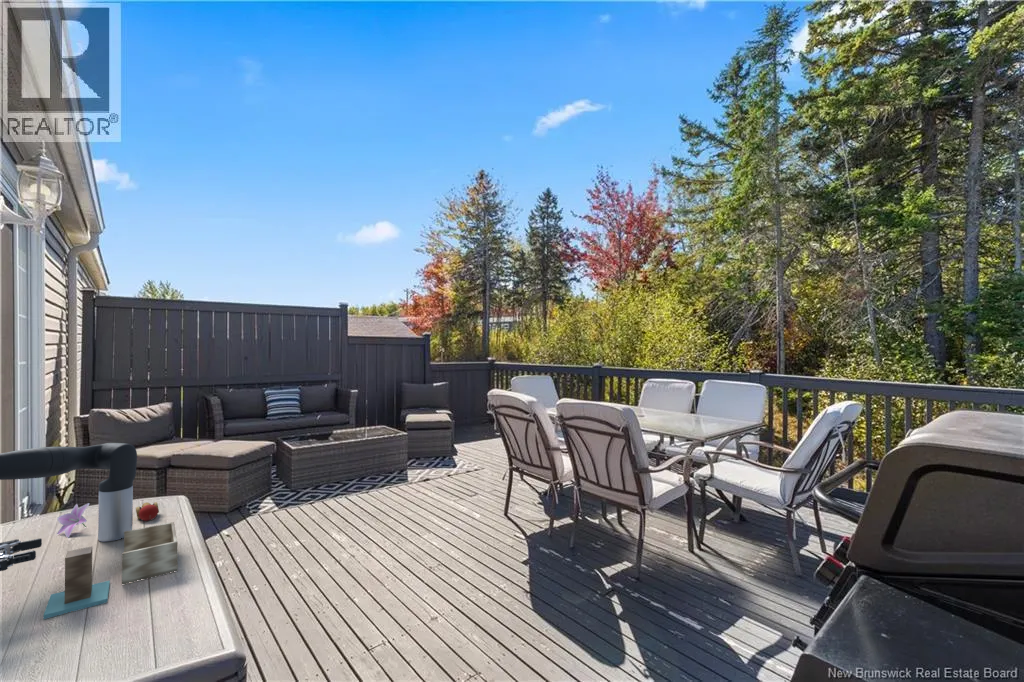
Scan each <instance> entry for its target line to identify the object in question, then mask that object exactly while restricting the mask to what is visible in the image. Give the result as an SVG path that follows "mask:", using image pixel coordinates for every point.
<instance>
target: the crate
mask: <svg viewBox="0 0 1024 682" xmlns="http://www.w3.org/2000/svg"><path fill="white" fill-rule="evenodd" d="M123 541H124V542H123V543H124V545H123V552H122V553H121V585H122V584H125V585H127V584H126V583H129V582H133V583H135V582H134V581H137V580H141V579H145V580H148V579H147V578H149V579H152V578H151V577H153V578H156V577H155V576H157V577H160V576H159V575H161V576H164V575H163V574H165V575H167V574H166V573H169V574H171V573H170V572H173V573H175V572H174V571H177V572H178V536H177V530H176V524H175V521H172V522H167V523H161V524H156V525H151V526H146V527H142V528H136V529H132V530H130V531H125V532H124V538H123ZM141 581H142V580H141ZM137 582H138V581H137ZM129 584H130V583H129Z"/></svg>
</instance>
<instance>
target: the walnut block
mask: <svg viewBox="0 0 1024 682" xmlns="http://www.w3.org/2000/svg"><path fill="white" fill-rule="evenodd" d="M92 584H93V545H91V546H86V547H83V548H77V549H72V550H67V551H66V554H65V557H64V591H65V601H64V604H67V603H71V602H75V601H79V600H82V599H86V598H90V597H91V592H92Z"/></svg>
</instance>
